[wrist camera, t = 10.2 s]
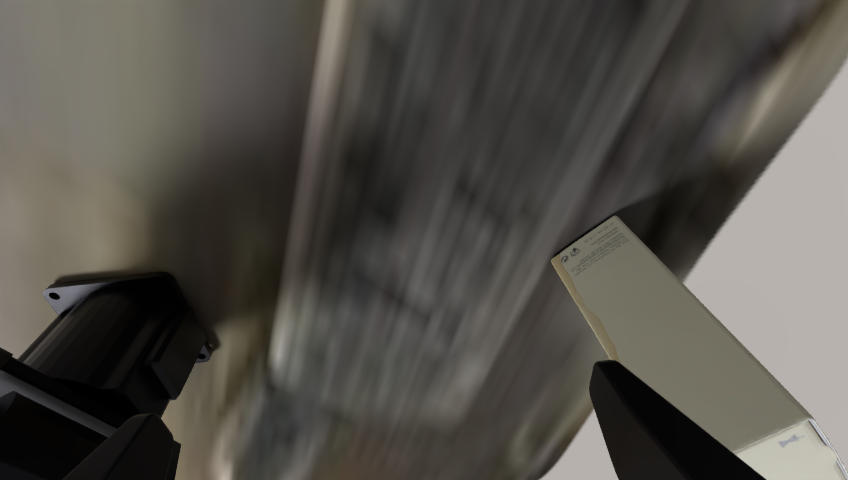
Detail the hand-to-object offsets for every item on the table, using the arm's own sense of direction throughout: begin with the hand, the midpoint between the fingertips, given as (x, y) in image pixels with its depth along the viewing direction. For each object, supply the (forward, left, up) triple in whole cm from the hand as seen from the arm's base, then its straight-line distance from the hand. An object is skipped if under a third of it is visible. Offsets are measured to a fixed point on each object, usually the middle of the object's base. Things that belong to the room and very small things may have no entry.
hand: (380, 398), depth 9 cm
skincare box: (+12, -8, -13) cm, 20 cm away
